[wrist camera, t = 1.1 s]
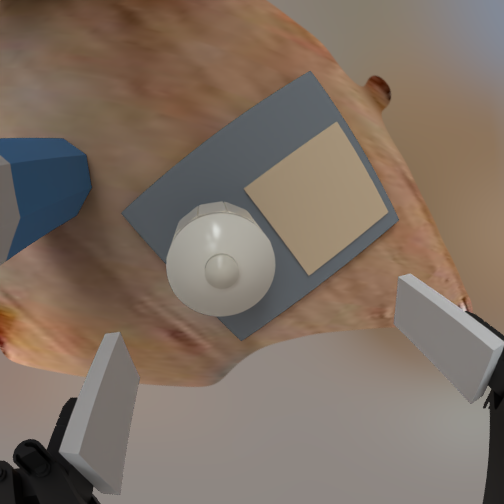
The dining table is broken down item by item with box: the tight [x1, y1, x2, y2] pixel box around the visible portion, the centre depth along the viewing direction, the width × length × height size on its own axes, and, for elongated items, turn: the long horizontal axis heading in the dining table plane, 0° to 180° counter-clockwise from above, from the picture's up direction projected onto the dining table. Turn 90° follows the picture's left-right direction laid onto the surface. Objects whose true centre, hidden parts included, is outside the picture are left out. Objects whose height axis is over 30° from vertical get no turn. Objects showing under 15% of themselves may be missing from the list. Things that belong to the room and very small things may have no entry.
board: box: [121, 71, 399, 341], centre depth 27 cm, size 20×24×9 cm
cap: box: [166, 201, 275, 316], centre depth 24 cm, size 8×8×6 cm
